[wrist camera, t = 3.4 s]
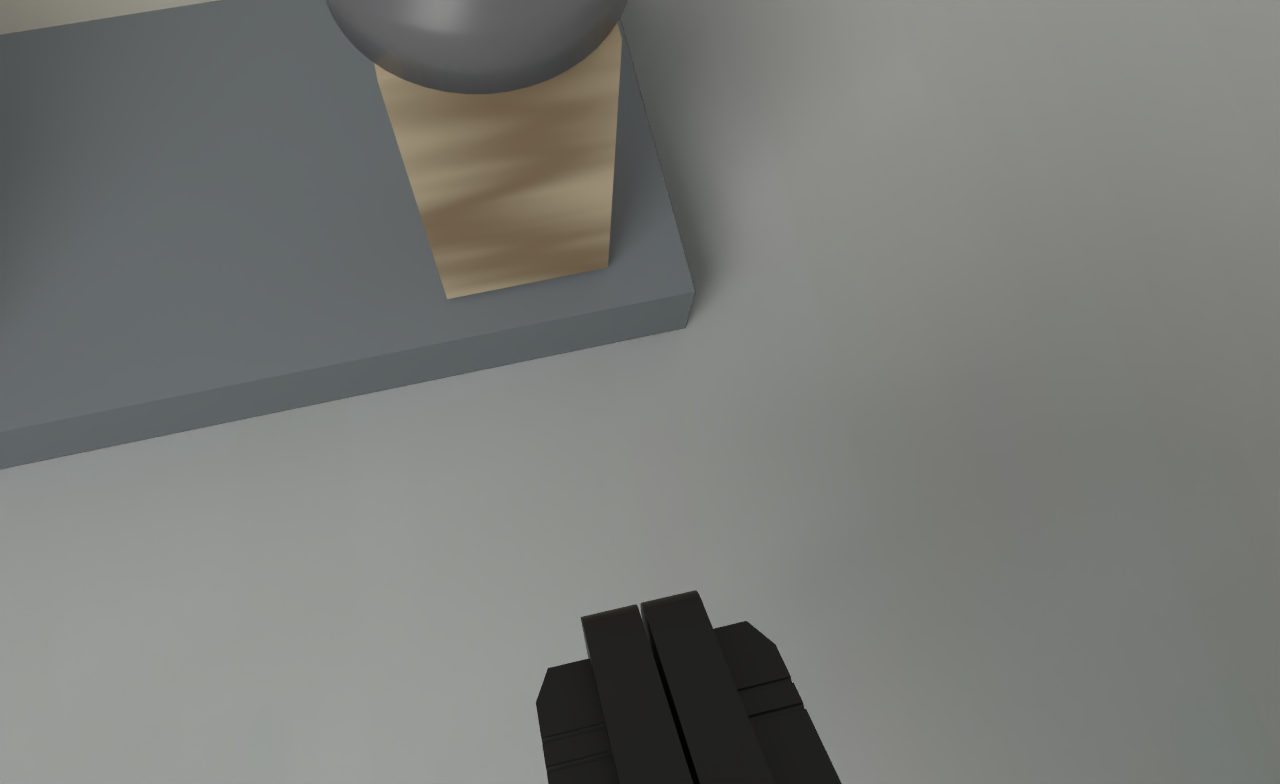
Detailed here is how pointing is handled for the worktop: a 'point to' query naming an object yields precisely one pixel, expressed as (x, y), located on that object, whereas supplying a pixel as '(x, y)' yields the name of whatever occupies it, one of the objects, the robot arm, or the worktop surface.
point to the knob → (500, 128)
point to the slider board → (252, 229)
